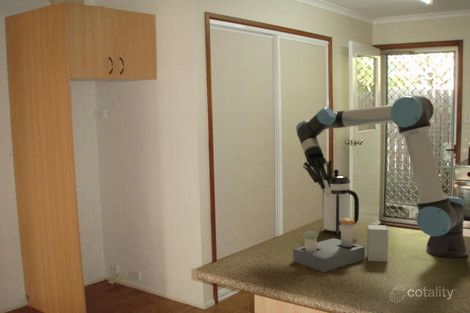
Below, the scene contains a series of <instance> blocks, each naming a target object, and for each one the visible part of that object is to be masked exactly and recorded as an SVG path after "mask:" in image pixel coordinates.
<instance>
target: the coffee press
mask: <svg viewBox="0 0 470 313" xmlns="http://www.w3.org/2000/svg"><path fill="white" fill-rule="evenodd" d="M333 173H334V174H333ZM333 173H332V179H331V181H330V182H329V183H330V185H331V187H330V190H331V195H330V197H326V195H325V192H324V190H323V189H322V225H321V227H320V228H319V230H320V232H321V233H323V232H324V231H330V232H335V236H340V232H341V223H340V219H341V218H350V196H352V197H353V200H354V201H353V202H354V203H353V204H354V209H353V210H354V212H353V213H354V214H353V215H354V216H353V219H354V220H355V223H354V224H353V225H356V224H357V223H358V221H359V216H360V215H359V214H360V212H359V211H360V210H359V209H360V203H359V202H360V201H359V200H360V199H359V197H358V193H357V192H356V191H354V190H352V189H350V183H351V180H350V179H349V177H348V176H347V175H345V174H341V173H340V174H339V170H338V169H334V170H333Z"/></svg>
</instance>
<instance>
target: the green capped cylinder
mask: <svg viewBox="0 0 470 313" xmlns="http://www.w3.org/2000/svg"><path fill="white" fill-rule="evenodd" d="M302 235H303V237H304V246H305V251H307V252H310V253H312V252H316V251H317V242H318V241H317V240H318V238H319V232H318V231H315V230H313V231H312V230H310V231H309V230H308V231H304V232H303V234H302Z"/></svg>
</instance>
